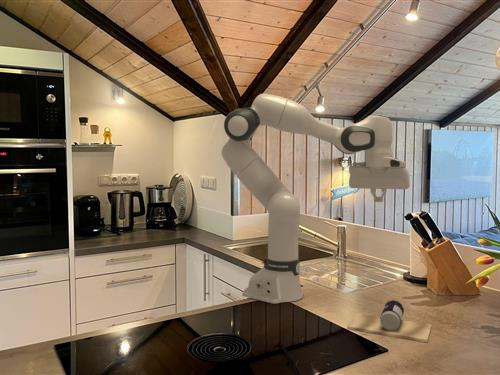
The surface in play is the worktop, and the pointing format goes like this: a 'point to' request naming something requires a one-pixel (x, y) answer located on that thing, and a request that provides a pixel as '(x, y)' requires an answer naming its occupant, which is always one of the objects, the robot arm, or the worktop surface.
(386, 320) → the beverage can
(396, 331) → the folded beige cloth
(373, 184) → the robot arm
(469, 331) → the worktop surface
